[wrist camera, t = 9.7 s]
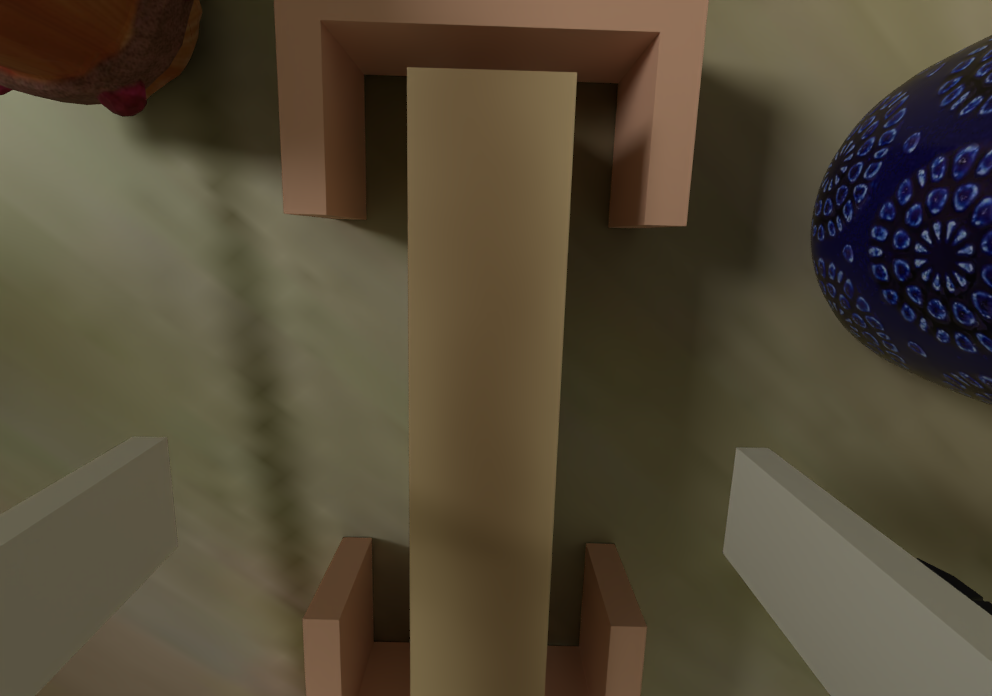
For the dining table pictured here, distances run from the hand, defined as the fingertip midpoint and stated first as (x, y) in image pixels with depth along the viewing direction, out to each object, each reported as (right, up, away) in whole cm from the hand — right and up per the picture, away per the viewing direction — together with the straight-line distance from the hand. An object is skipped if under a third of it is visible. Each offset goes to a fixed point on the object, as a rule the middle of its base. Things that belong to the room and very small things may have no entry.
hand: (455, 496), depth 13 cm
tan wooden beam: (0, +1, +8) cm, 8 cm away
